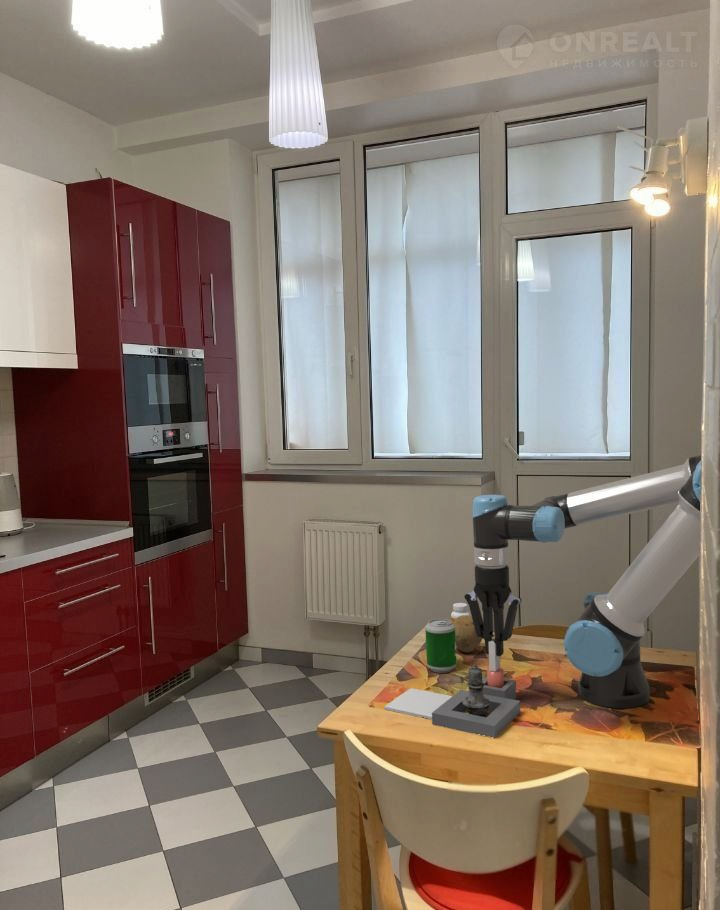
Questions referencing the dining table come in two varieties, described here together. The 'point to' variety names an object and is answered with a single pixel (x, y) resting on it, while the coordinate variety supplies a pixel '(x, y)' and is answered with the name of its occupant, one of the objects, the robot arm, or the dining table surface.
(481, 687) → the dark grey figurine
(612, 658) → the robot arm
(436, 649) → the soda can
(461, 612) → the supplement bottle
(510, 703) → the socket housing
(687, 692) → the dining table surface
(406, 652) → the dining table surface
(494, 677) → the plunger
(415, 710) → the grey mat
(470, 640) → the brown potato
